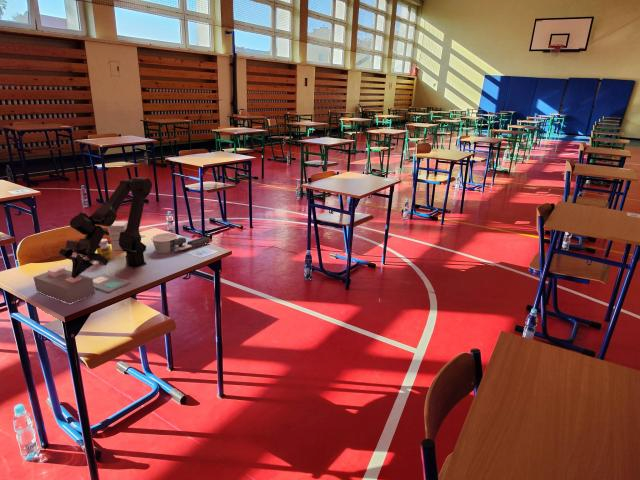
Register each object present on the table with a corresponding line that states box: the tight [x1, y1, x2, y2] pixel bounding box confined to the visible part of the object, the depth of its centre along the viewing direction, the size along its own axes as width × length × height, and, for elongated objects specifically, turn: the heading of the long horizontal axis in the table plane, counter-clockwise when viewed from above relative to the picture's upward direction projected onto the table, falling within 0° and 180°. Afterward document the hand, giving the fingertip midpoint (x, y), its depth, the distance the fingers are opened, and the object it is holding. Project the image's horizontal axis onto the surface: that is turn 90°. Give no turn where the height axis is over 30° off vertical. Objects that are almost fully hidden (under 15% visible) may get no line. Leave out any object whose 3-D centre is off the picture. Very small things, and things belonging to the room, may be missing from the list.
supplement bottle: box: [96, 238, 113, 262], centre depth 188 cm, size 5×5×10 cm
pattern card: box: [91, 273, 132, 294], centre depth 167 cm, size 10×16×1 cm, turn 62°
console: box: [33, 269, 96, 303], centre depth 158 cm, size 10×20×6 cm, turn 62°
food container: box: [150, 232, 178, 254], centre depth 202 cm, size 12×12×6 cm
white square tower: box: [107, 220, 128, 251], centre depth 203 cm, size 7×7×13 cm
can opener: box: [174, 236, 211, 251], centre depth 206 cm, size 19×5×6 cm, turn 143°
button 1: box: [47, 266, 66, 277], centre depth 160 cm, size 4×4×4 cm
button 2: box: [65, 276, 82, 283], centre depth 156 cm, size 4×4×4 cm
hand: (73, 277), depth 155 cm, fingers closed
